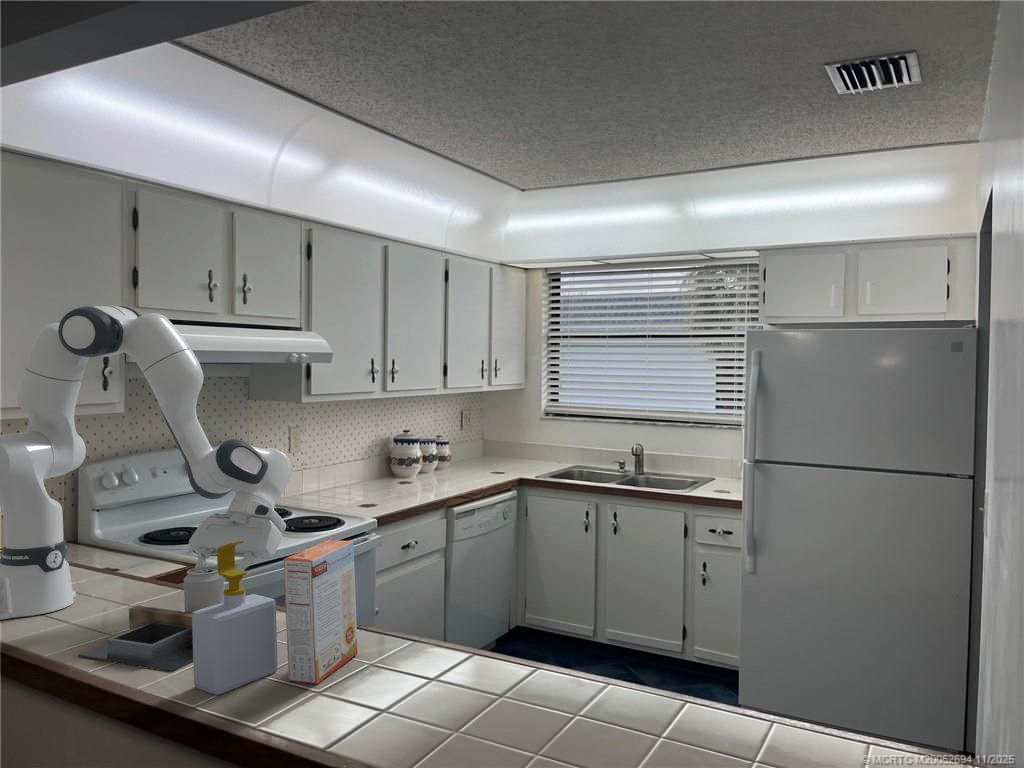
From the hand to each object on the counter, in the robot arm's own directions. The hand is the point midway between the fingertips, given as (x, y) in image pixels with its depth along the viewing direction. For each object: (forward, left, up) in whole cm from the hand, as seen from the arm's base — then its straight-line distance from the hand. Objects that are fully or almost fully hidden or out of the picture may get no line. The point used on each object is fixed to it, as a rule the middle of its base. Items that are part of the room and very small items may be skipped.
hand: (217, 572), depth 162 cm
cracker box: (+35, -14, -11) cm, 39 cm away
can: (0, -4, -10) cm, 11 cm away
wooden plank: (0, -10, -10) cm, 15 cm away
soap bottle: (+24, -23, -11) cm, 35 cm away
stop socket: (0, -17, -10) cm, 20 cm away
